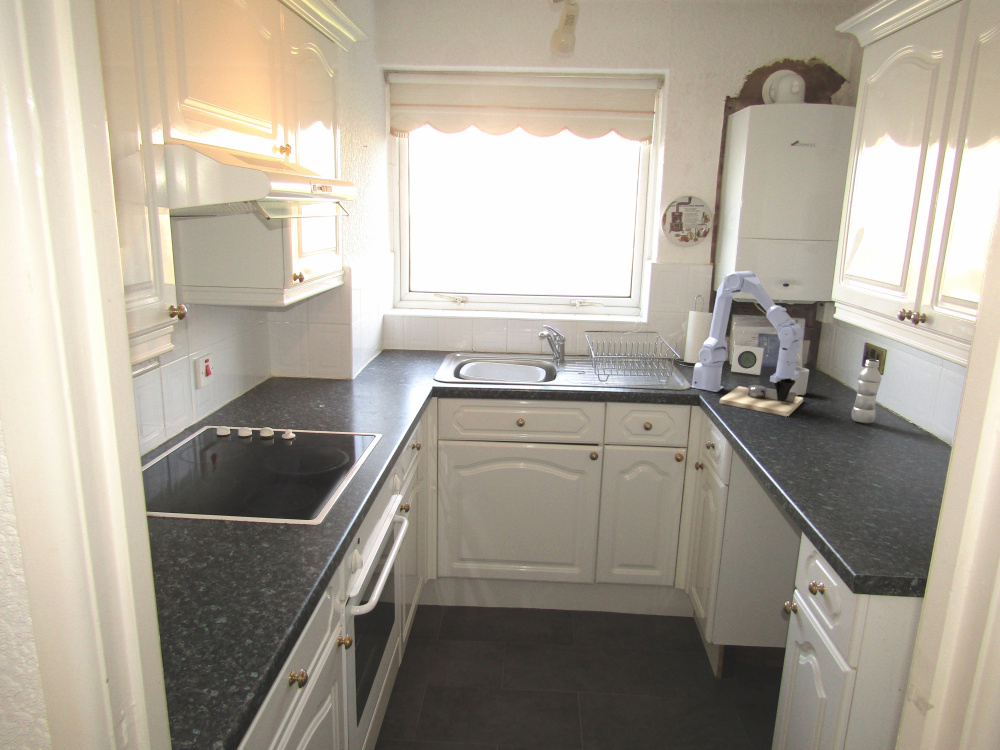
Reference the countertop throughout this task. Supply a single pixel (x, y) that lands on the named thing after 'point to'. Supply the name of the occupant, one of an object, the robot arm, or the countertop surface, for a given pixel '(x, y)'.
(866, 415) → the plastic bottle
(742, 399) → the lock board
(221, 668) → the countertop surface
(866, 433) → the countertop surface
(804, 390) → the cup
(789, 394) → the lever
